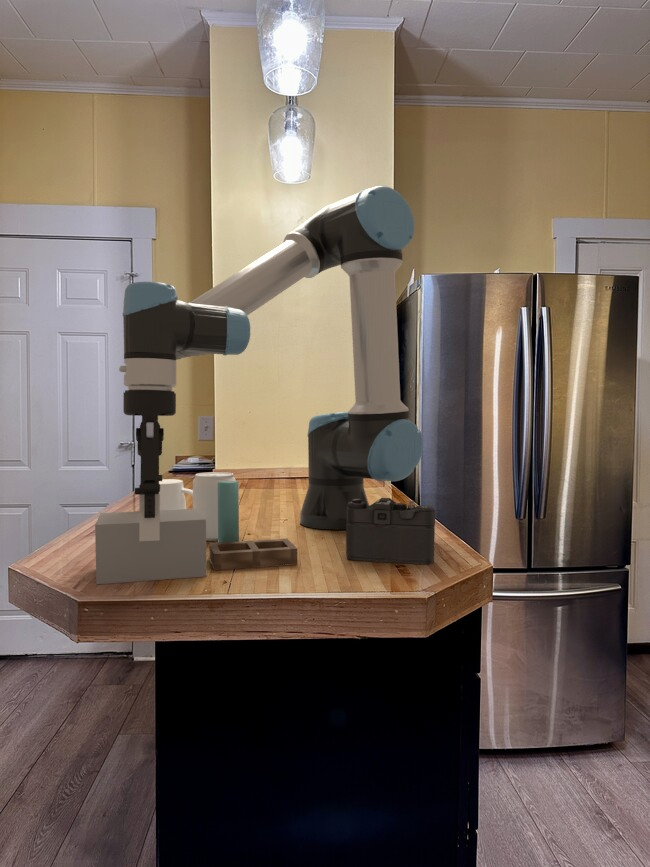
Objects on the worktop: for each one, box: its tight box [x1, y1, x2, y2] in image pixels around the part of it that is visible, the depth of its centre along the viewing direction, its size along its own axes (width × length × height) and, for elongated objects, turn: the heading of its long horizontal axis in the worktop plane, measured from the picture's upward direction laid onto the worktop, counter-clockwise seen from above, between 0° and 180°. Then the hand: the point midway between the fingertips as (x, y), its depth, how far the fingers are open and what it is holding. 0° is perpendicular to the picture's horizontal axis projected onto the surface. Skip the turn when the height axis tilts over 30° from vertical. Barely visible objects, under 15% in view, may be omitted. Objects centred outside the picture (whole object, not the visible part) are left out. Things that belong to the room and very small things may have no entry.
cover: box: [94, 508, 207, 585], centre depth 94 cm, size 15×10×8 cm, turn 106°
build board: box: [208, 538, 299, 571], centre depth 100 cm, size 13×8×2 cm, turn 106°
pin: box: [217, 480, 240, 543], centre depth 106 cm, size 4×4×12 cm
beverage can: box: [192, 471, 237, 542], centre depth 118 cm, size 8×8×12 cm
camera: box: [345, 497, 436, 566], centre depth 104 cm, size 14×11×10 cm
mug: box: [159, 478, 193, 510], centre depth 128 cm, size 12×9×8 cm
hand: (149, 531), depth 93 cm, fingers open, 13 cm apart
